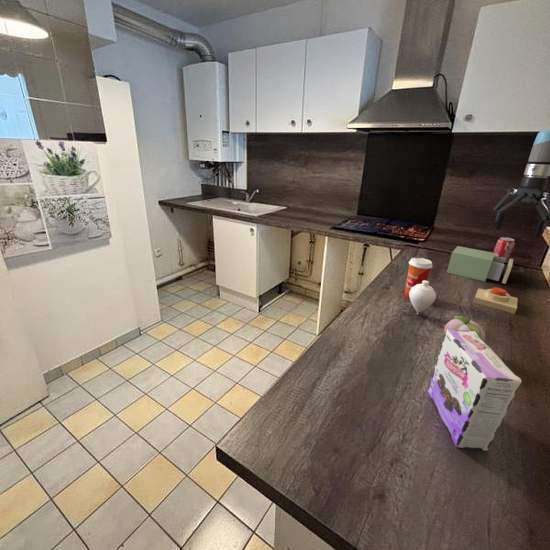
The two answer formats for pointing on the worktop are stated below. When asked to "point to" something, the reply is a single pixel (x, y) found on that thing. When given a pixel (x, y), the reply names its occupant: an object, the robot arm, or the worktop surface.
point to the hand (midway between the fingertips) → (515, 233)
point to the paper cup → (417, 273)
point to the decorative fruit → (465, 326)
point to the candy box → (471, 389)
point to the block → (496, 300)
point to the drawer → (498, 267)
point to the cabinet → (470, 263)
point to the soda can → (504, 248)
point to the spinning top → (422, 296)
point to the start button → (498, 291)
